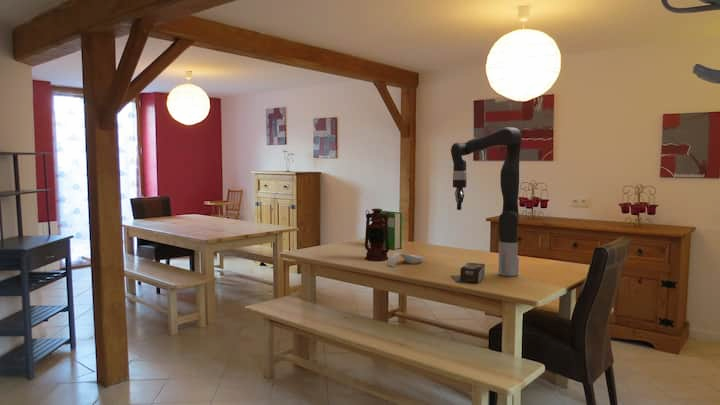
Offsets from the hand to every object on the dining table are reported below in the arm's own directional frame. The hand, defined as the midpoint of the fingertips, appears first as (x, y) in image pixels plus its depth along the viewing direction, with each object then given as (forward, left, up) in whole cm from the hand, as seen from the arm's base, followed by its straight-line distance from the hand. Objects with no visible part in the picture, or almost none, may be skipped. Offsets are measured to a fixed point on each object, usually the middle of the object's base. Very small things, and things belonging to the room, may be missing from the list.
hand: (459, 209), depth 279 cm
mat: (+4, +34, -31) cm, 46 cm away
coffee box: (-3, +27, -27) cm, 38 cm away
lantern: (+45, -16, -31) cm, 57 cm away
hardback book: (+35, -53, -31) cm, 71 cm away
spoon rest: (+29, -2, -32) cm, 43 cm away
